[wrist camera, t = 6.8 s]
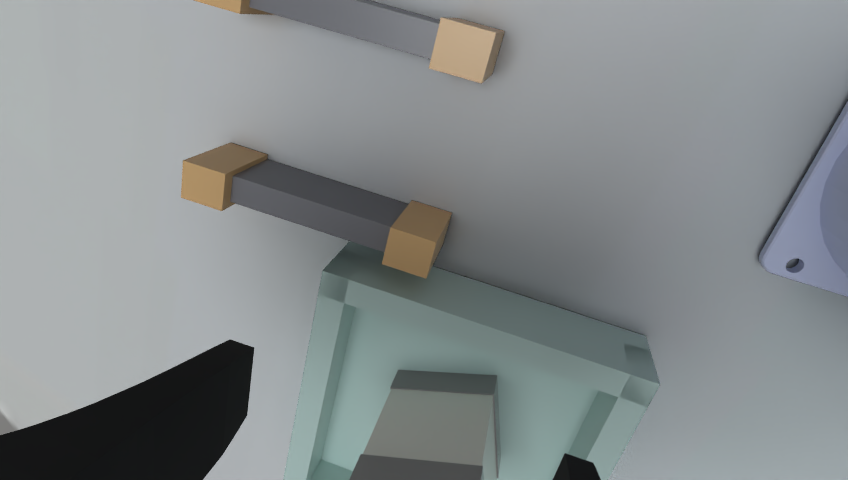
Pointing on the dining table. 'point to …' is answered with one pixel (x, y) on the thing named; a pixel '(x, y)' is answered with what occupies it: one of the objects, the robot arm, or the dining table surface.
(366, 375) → the tray
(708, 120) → the dining table surface
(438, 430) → the gray block
